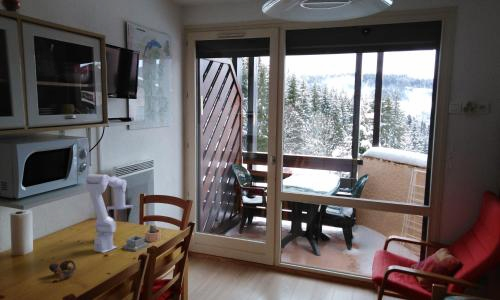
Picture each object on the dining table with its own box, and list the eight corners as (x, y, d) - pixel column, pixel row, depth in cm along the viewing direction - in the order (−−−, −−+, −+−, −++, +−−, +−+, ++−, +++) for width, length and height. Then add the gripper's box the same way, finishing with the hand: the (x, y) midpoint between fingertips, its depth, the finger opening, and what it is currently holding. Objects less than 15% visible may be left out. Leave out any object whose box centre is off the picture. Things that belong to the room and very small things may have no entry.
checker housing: (135, 251, 200) (135, 242, 200) (122, 248, 205) (122, 239, 205) (148, 245, 209) (148, 237, 209) (135, 242, 214) (135, 234, 213)
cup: (153, 242, 214) (153, 234, 213) (142, 240, 218) (142, 232, 217) (163, 238, 221) (163, 230, 221) (152, 235, 225) (152, 227, 225)
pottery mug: (77, 270, 178) (79, 259, 174) (71, 286, 170) (73, 275, 166) (51, 266, 175) (52, 254, 171) (43, 282, 167) (44, 271, 163)
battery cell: (153, 239, 217) (153, 226, 216) (148, 238, 219) (148, 225, 218) (157, 237, 220) (157, 224, 219) (152, 236, 222) (152, 223, 221)
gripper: (132, 196, 224) (133, 218, 226) (107, 198, 220) (108, 220, 221) (132, 199, 217) (133, 221, 219) (106, 200, 213) (107, 223, 215)
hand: (120, 221), depth 220 cm, fingers open, 7 cm apart
